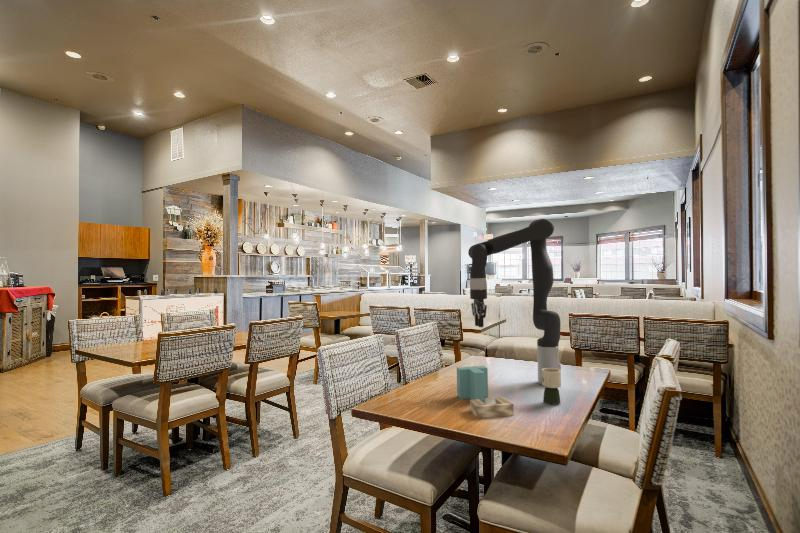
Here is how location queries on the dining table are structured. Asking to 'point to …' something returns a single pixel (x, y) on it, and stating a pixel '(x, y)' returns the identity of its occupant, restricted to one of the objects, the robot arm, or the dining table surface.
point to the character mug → (551, 385)
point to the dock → (492, 408)
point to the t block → (472, 382)
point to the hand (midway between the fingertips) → (479, 326)
